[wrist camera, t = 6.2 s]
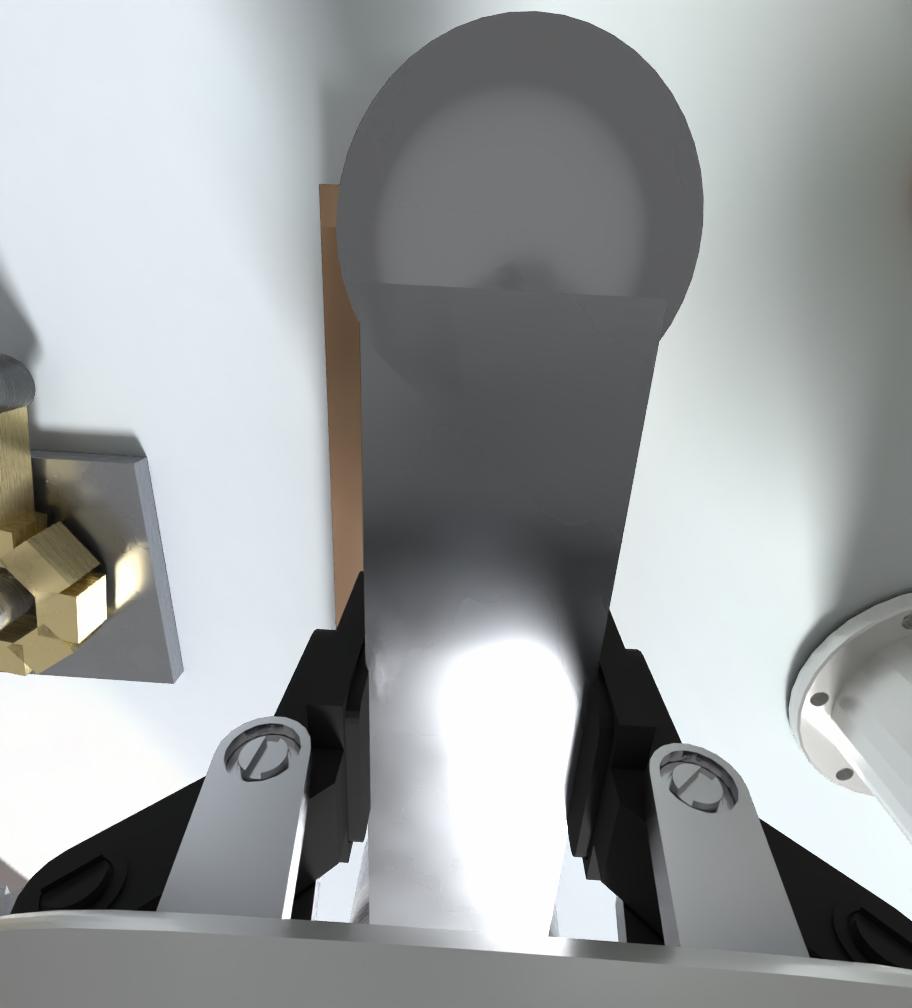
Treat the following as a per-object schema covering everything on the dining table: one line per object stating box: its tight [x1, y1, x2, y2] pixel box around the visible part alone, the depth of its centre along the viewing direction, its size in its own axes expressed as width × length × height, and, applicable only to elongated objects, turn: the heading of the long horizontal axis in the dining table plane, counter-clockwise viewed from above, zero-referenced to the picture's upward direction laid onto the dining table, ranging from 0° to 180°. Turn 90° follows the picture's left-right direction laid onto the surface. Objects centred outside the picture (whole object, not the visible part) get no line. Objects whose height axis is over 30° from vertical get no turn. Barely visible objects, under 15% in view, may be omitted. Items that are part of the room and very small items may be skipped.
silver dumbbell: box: [336, 11, 703, 938], centre depth 11 cm, size 20×5×4 cm, turn 177°
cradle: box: [319, 184, 364, 629], centre depth 23 cm, size 11×23×4 cm, turn 177°
